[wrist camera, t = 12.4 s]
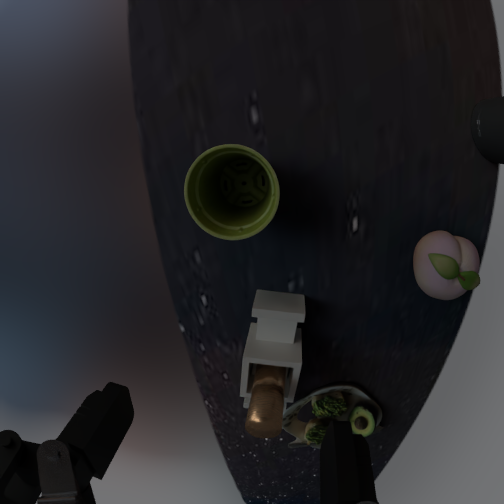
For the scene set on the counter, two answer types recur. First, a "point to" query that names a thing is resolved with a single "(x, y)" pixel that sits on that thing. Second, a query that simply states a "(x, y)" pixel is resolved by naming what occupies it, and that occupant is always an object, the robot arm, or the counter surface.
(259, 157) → the plant pot
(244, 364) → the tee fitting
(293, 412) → the salad plate
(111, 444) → the robot arm
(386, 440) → the counter surface
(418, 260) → the decorative fruit
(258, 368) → the brown rounded rod
